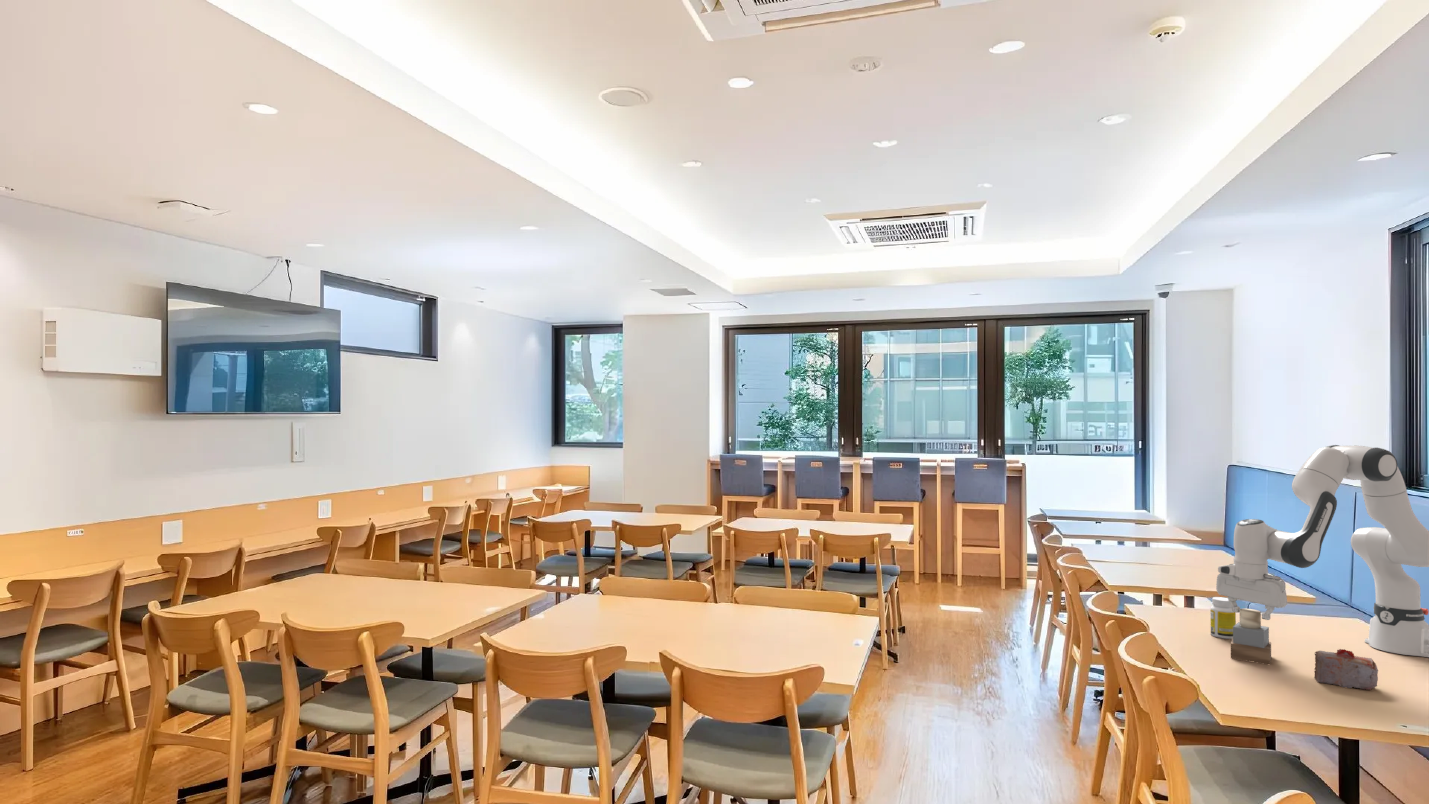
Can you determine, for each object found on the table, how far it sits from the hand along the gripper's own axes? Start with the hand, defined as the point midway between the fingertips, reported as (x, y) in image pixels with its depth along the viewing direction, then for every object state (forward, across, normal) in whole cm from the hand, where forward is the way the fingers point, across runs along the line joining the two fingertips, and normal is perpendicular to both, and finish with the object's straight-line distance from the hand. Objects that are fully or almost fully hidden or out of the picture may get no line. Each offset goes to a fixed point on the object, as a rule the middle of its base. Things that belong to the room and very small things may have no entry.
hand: (1250, 615), depth 244 cm
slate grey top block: (+8, 0, 0) cm, 9 cm away
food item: (+13, -26, -1) cm, 29 cm away
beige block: (+4, 0, 0) cm, 4 cm away
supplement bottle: (+13, +20, -15) cm, 28 cm away
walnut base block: (+14, 0, 0) cm, 14 cm away
